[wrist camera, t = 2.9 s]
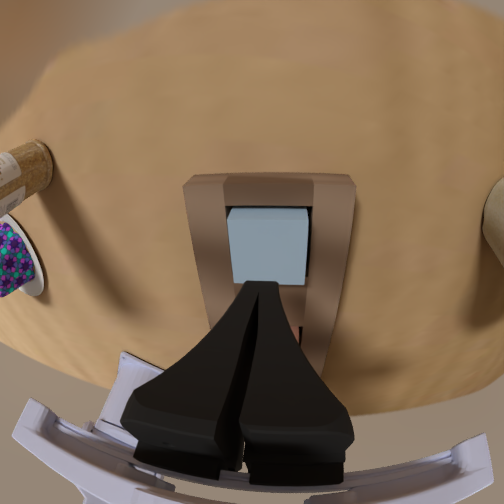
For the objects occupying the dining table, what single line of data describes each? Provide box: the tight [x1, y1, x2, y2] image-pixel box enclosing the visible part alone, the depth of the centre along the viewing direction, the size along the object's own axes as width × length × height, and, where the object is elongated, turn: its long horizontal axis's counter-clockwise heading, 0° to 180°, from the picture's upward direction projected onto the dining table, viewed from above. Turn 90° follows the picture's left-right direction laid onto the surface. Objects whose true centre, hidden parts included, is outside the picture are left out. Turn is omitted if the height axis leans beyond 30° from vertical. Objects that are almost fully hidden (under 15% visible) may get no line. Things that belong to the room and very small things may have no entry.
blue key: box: [227, 205, 309, 285], centre depth 15 cm, size 4×4×3 cm
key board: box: [183, 173, 356, 378], centre depth 21 cm, size 25×9×2 cm, turn 3°
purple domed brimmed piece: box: [0, 214, 44, 297], centre depth 20 cm, size 12×12×5 cm
